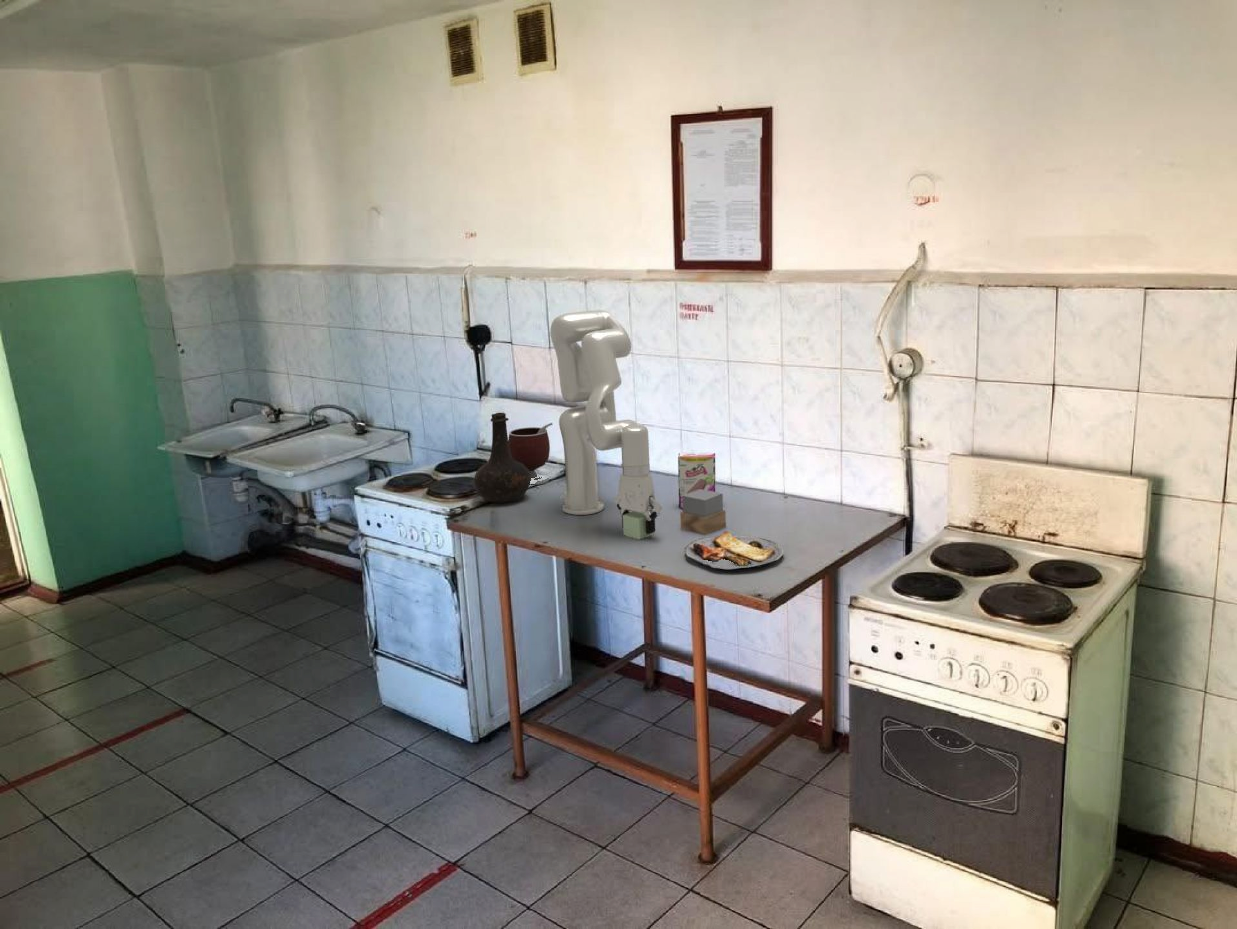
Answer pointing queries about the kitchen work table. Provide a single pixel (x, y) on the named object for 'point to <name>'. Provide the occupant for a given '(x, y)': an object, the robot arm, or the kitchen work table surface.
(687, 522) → the walnut base block
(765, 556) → the food plate
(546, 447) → the mate gourd
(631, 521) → the green cube
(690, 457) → the candy bar box
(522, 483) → the glass bottle
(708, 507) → the gray middle block
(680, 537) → the kitchen work table surface
